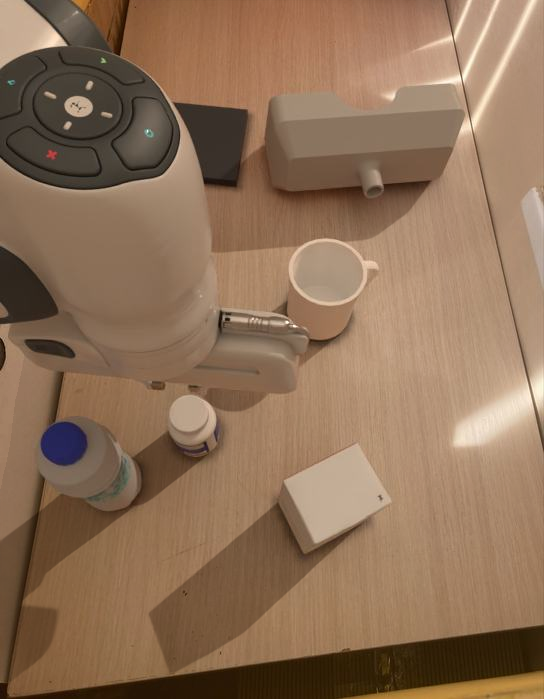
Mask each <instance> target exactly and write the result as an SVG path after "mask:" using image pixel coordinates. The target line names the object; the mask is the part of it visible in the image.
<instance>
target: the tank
mask: <svg viewBox="0 0 544 699" xmlns="http://www.w3.org/2000/svg"><path fill="white" fill-rule="evenodd" d="M465 119H466V112H465V110H464V106H463V103H462V101H461V98H460V96H459V93H458V90H457V88H456V85H455V84H454V83H451V82H449V83H434V84H418V85H404V86H400V87H399V88H397V89H396V91H395V94H394V97H393V100H392V101H391V102H390V103H389V104H388V105H386V106H384V107H382V108H381V107H380V108H379V109H371V110H368V109H360V108H357V107H353V106H352V105H349V104H348V103H347V102H345V101H344V100H343V99H342V98H341V97H340V96H339V94H337V93H336V92H333V91H330V90H329V91H327V90H326V91H325V90H324V91H312V92H310V91H309V92H297V93H281V94H275V95H274V96H272V97H271V98H270V99H269V101H268V108H267V116H266V121H265V131H264V145H265V150H266V156H267V162H268V169H269V175H270V181H271V186H272V187H273V188H274V189H276V190H281V191H286V192H301V191H313V190H325V189H338V188H339V189H340V188H349V187H350V188H352V187H362V192H363V194H364V197H365V198H367V199H375V198H378V197H380V196H381V195H382V194H383V193H384V192H385V189H384V185H388V184H400V183H401V184H402V183H413V182H425V181H436V180H438V179H439V178H441V177H442V175H443V173H444V172H445V169H446V167H447V164H448V163H449V160H450V158H451V156H452V154H453V152H454V149H455V146H456V144H457V140H458V138H459V135H460V132H461V129H462V126H463V123H464V121H465Z"/></svg>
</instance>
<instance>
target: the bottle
mask: <svg viewBox="0 0 544 699" xmlns="http://www.w3.org/2000/svg"><path fill="white" fill-rule="evenodd" d="M34 454H35V455H34V456H35V457H34V458H35V465H36V467H37V470H38V471H39V473H40V475H41V476H42V477H43V478H44V480H46V482H47V483H48V484H49V486H50V487H51V488H52V489H53V490H54V491H56V492H58V493H60V494H62V495H65V496H68V497H71V498H78V499H79V498H80V499H82V500H84V501H85V502H86V503H87V504H89V505H90V506H92V507H93V508H95V509H97V510H100V511H103V512H115V511H119V510H123V509H125V508H128V507H129V506H130V505H131V504H132V502H133V501H134V500H135V498H136V497H137V495H138V494H139V493H140V492H141V489H142V472H141V468H140V466H139V464H138V463H137V461H136V460H135V459H134V458H133V457H131V456H132V455H129V454H128V453H126V452H125V451H124V450H123V449H122V448H121V445H120V443H119V441H118V439H117V438H116V436H115V434H114V433H113V431H112V430H110V429H109V428H108V427H107V426H105V425H104V424H102V423H99V422H96V421H95V420H93V419H91V418H88V417H85V416H80V415H75V416H74V415H73V416H71V415H70V416H67V417H63V418H61V419H58V420H56V421H55V422H53V423H51V424H50V425H49V426H48V427H47V428H45V430H44V431H43V433H42V434H41V435H40V437H39V439H38V441H37V443H36V447H35V452H34Z"/></svg>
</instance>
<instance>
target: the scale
mask: <svg viewBox="0 0 544 699" xmlns="http://www.w3.org/2000/svg"><path fill="white" fill-rule="evenodd" d="M172 103H173V104H174V106H175V107H176V109H177V110H178V112H179V114H180V116H181V118H182V120H183V121H184V123H185V125H186V127H187V129H188V132H189V134H190V137H191V139H192V142H193V144H194V148H195V151H196V154H197V158H198V161H199V165H200V168H201V173H202V177H203V182H204V185H212V186H213V185H214V186H223V187H233V188H237V186H238V181H239V174H240V169H241V162H242V154H243V149H244V141H245V137H246V129H247V123H248V116H249V112H248V109H246V108H235V107H227V106H216V105H206V104H197V103H188V102H187V103H186V102H175V101H172Z"/></svg>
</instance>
